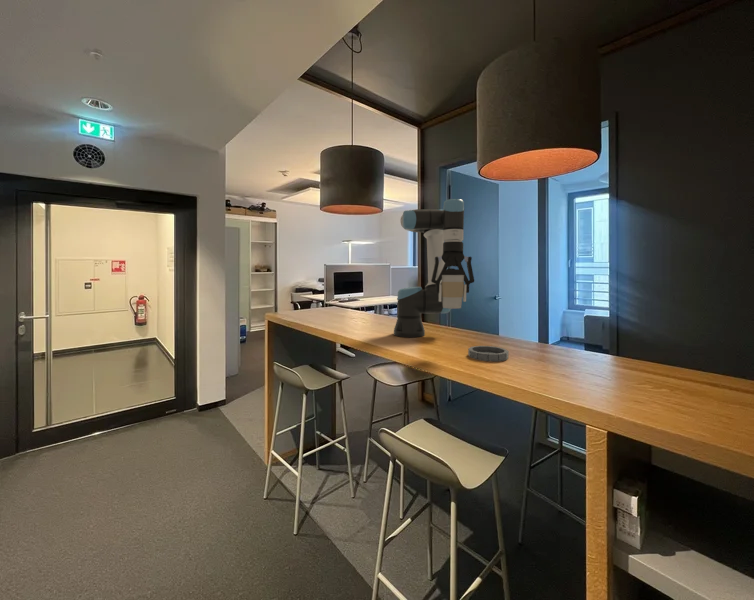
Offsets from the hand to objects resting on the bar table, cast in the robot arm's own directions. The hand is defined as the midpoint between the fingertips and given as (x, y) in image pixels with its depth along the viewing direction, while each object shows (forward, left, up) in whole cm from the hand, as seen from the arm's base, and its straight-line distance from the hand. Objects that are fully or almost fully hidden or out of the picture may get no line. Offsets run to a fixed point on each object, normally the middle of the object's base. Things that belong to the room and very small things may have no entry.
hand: (452, 301), depth 133 cm
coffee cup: (0, 0, -3) cm, 3 cm away
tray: (+7, +12, -20) cm, 24 cm away
